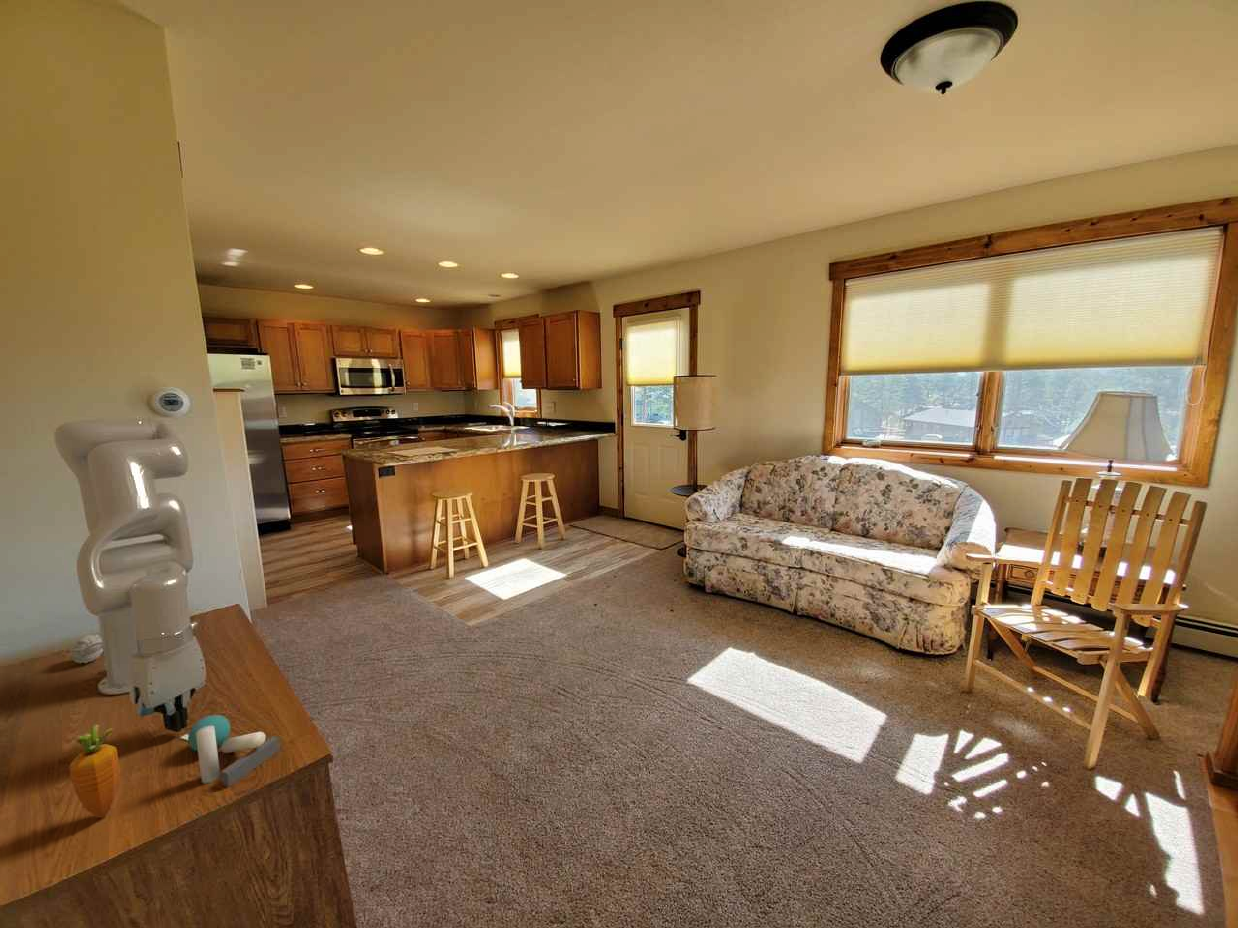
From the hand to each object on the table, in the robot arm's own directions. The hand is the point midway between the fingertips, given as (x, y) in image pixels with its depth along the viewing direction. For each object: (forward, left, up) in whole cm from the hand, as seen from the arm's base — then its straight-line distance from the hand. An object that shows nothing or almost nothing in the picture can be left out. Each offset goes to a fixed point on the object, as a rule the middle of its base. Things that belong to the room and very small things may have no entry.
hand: (177, 727), depth 93 cm
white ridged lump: (-50, +11, -2) cm, 51 cm away
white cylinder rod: (+17, -5, -2) cm, 18 cm away
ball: (+10, 0, +2) cm, 10 cm away
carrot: (+10, -16, -2) cm, 19 cm away
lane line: (+6, 0, -2) cm, 6 cm away
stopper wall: (+22, -1, -2) cm, 22 cm away
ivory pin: (+14, 0, 0) cm, 14 cm away
